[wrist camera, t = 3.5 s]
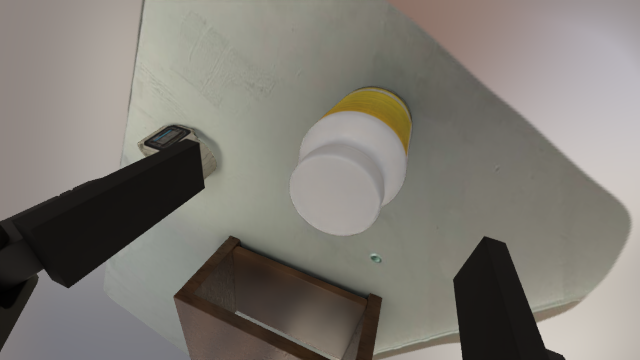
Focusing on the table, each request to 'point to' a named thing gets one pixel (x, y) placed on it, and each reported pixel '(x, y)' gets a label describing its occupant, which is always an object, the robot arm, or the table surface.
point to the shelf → (271, 311)
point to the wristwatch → (175, 135)
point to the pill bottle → (353, 161)
